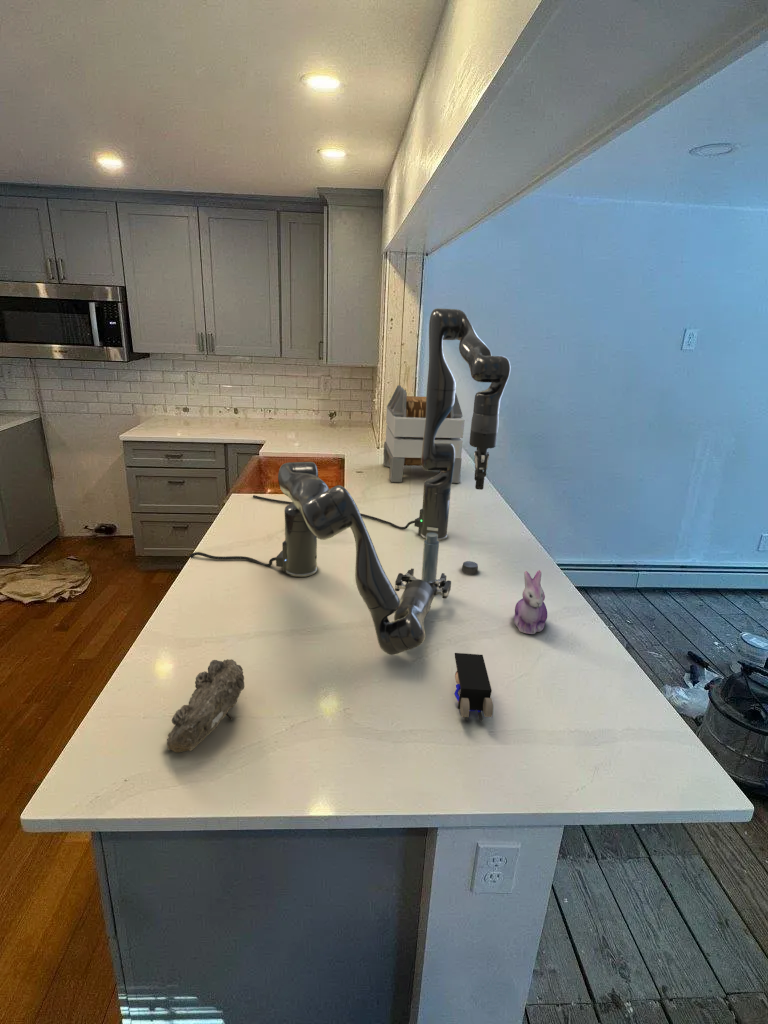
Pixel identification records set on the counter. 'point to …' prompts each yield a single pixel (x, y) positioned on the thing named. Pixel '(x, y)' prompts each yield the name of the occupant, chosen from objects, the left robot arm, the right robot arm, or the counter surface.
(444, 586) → the left robot arm
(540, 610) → the figurine
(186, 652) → the counter surface
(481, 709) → the black toy cart
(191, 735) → the fossil
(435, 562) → the grey cylinder
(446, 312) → the right robot arm
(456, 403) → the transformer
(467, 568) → the lid
